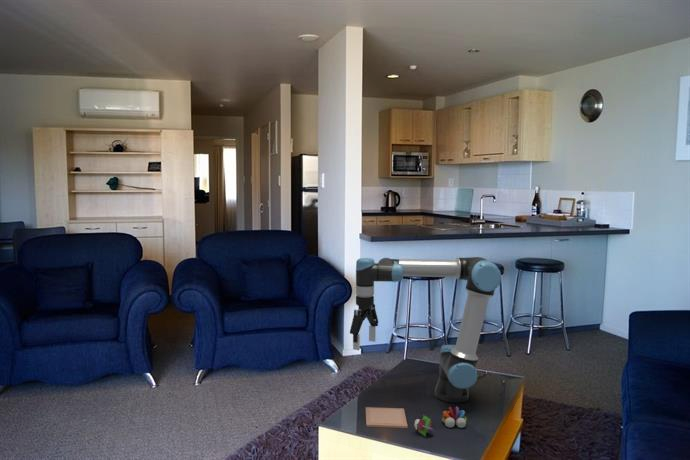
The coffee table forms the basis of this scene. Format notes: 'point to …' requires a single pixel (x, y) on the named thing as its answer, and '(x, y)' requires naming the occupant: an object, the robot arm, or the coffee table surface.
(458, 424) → the colourful small pieces
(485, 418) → the coffee table surface
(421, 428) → the geometric puzzle
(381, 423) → the tile
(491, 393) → the coffee table surface
